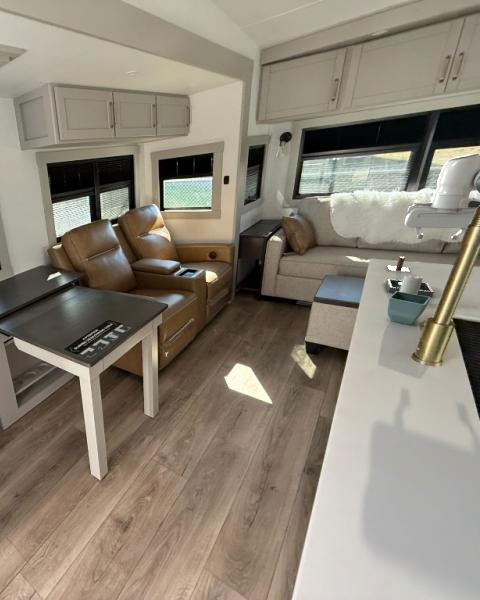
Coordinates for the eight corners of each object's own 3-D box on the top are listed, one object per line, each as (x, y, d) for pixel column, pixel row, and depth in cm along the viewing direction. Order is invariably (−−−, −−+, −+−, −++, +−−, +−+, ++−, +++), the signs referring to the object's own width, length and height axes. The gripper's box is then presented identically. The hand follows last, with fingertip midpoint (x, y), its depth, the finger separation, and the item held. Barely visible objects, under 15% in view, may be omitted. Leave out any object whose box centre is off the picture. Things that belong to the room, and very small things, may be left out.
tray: (426, 288, 132) (428, 282, 131) (431, 298, 124) (433, 292, 123) (385, 284, 140) (387, 278, 139) (388, 293, 131) (389, 287, 130)
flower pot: (380, 320, 112) (388, 297, 108) (388, 313, 116) (396, 290, 112) (415, 329, 105) (424, 304, 101) (422, 320, 109) (431, 297, 106)
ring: (416, 288, 132) (418, 282, 131) (419, 293, 127) (421, 287, 126) (395, 285, 136) (397, 280, 135) (397, 290, 131) (399, 285, 130)
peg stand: (407, 269, 154) (411, 256, 151) (409, 273, 149) (414, 260, 146) (387, 267, 158) (391, 254, 155) (388, 271, 153) (392, 258, 150)
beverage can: (391, 304, 122) (401, 275, 117) (402, 303, 122) (412, 273, 118) (404, 309, 118) (415, 279, 113) (416, 307, 118) (427, 277, 113)
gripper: (410, 204, 121) (400, 239, 127) (493, 202, 109) (478, 241, 115) (408, 202, 126) (398, 236, 131) (487, 200, 114) (473, 238, 119)
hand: (436, 239), depth 123 cm, fingers open, 8 cm apart
